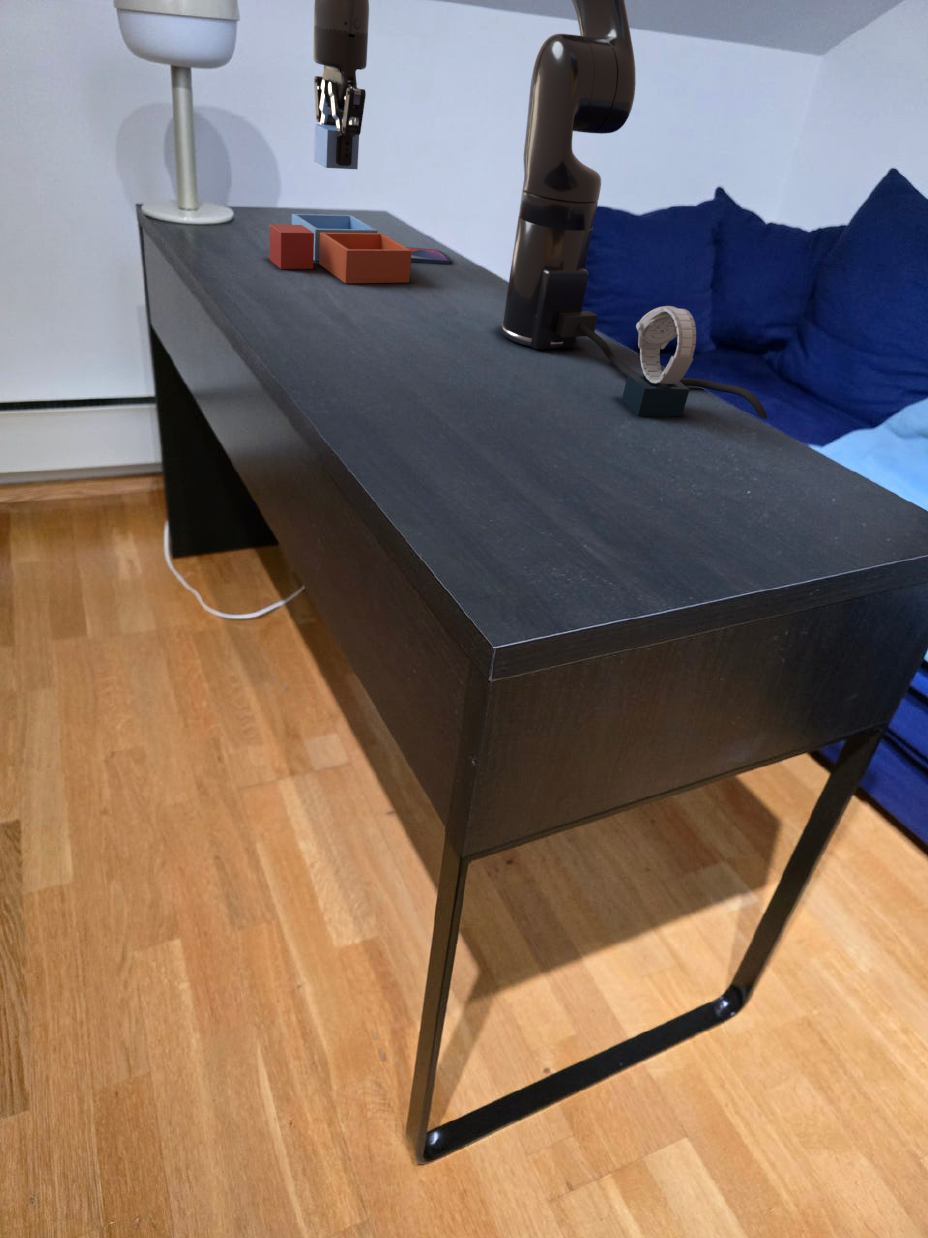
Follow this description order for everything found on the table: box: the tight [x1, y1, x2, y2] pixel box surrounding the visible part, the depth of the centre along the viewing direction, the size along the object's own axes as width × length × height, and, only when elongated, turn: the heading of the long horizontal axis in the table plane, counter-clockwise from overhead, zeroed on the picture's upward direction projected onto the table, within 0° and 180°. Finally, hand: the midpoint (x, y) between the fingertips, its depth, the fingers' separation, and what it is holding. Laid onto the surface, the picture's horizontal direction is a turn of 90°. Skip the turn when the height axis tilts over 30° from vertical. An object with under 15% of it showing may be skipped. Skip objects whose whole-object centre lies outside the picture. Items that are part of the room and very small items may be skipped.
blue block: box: [313, 123, 360, 170], centre depth 131 cm, size 5×5×5 cm
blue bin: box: [291, 213, 378, 262], centre depth 139 cm, size 10×10×4 cm
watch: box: [621, 305, 697, 417], centre depth 96 cm, size 6×8×11 cm
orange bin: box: [318, 232, 412, 284], centre depth 130 cm, size 10×10×4 cm
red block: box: [269, 223, 314, 270], centre depth 129 cm, size 5×5×5 cm
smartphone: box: [405, 246, 451, 265], centre depth 144 cm, size 7×15×1 cm, turn 107°
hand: (336, 160), depth 132 cm, fingers closed on blue block, 5 cm apart
